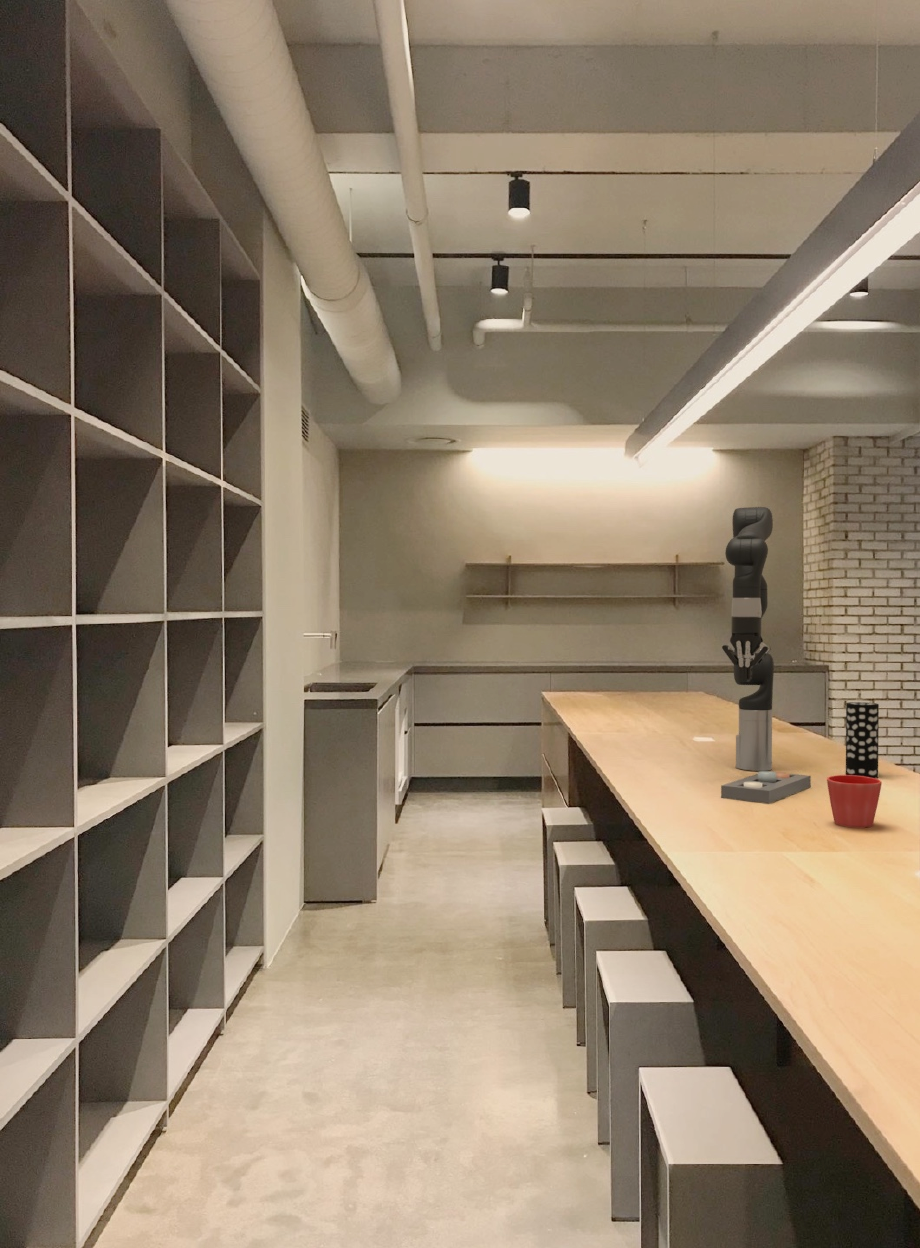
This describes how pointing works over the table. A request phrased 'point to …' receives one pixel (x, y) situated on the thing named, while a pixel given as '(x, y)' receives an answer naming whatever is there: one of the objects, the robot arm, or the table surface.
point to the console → (765, 788)
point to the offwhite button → (753, 784)
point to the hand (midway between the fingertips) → (746, 681)
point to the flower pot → (853, 799)
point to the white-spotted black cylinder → (862, 739)
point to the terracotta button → (782, 775)
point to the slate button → (767, 776)
